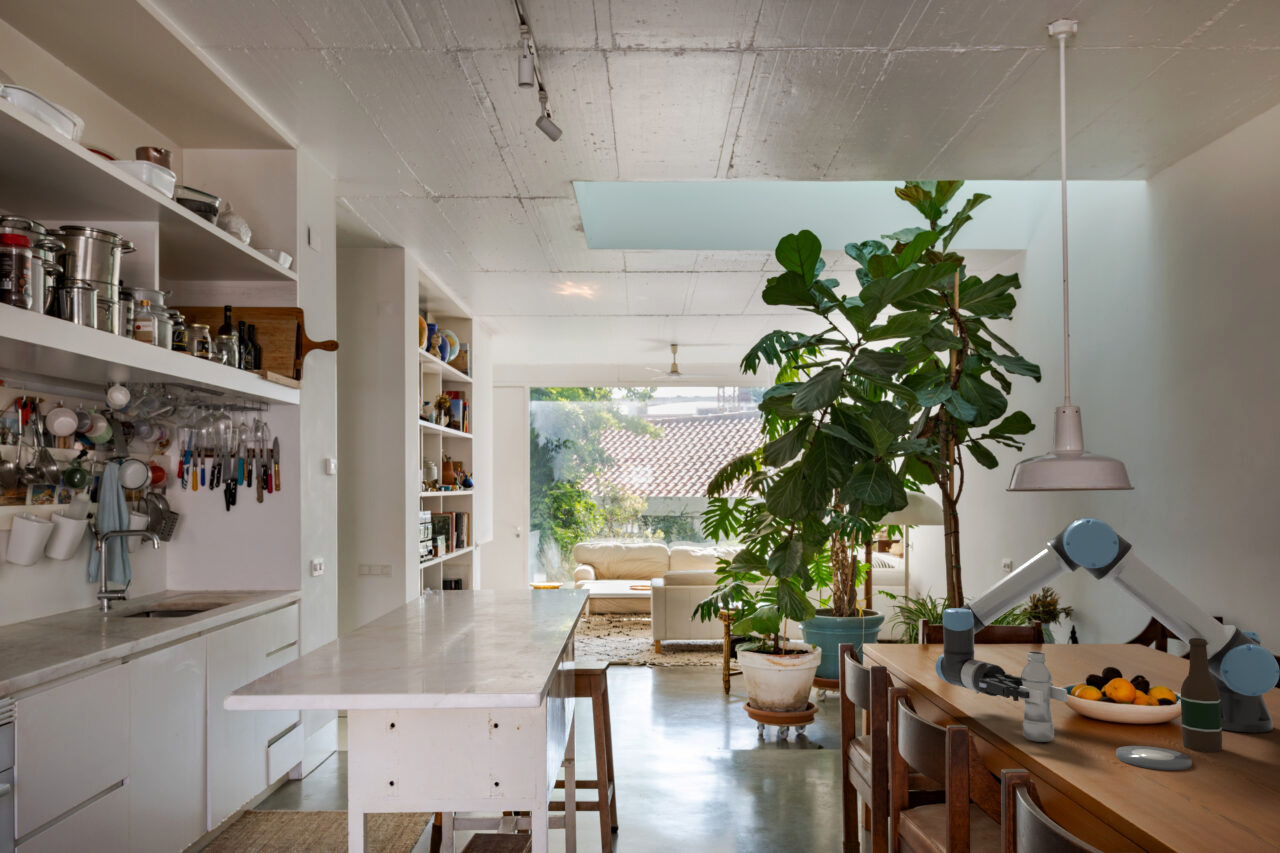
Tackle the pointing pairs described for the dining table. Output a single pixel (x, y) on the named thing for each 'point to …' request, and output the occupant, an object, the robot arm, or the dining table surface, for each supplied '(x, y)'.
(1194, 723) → the beer bottle
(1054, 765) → the dining table surface
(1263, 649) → the robot arm
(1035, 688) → the plastic bottle
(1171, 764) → the coaster
